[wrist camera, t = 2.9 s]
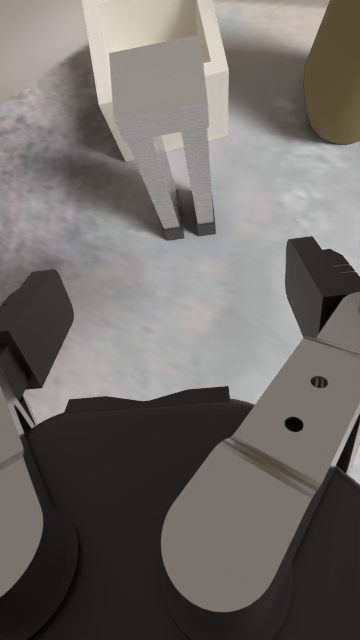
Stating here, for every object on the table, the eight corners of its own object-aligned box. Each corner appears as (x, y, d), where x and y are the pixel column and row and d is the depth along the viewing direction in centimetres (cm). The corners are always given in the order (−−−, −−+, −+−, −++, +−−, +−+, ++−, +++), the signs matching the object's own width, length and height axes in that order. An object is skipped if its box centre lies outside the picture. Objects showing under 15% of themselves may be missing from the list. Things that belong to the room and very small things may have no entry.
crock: (125, 161, 30) (98, 105, 23) (110, 74, 31) (81, -3, 25) (227, 136, 29) (228, 70, 22) (207, 47, 30) (203, -40, 24)
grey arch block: (167, 240, 28) (113, 118, 14) (164, 204, 29) (109, 53, 15) (215, 233, 28) (207, 101, 14) (211, 197, 28) (200, 34, 14)
